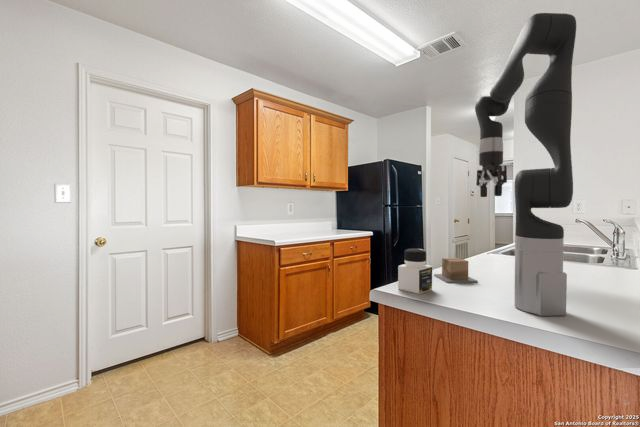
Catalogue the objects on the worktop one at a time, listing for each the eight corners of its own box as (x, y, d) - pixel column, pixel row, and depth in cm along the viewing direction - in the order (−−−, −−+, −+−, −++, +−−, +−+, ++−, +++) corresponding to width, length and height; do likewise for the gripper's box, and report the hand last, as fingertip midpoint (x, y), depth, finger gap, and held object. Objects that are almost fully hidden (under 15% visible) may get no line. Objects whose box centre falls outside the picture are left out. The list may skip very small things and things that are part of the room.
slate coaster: (477, 282, 96) (477, 280, 96) (447, 282, 95) (447, 281, 95) (461, 275, 106) (461, 273, 106) (434, 275, 105) (434, 274, 105)
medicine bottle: (419, 294, 83) (419, 251, 83) (397, 289, 88) (397, 248, 88) (432, 289, 88) (432, 249, 87) (410, 285, 93) (411, 246, 93)
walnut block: (468, 279, 98) (468, 261, 98) (450, 279, 98) (450, 261, 97) (458, 275, 104) (459, 257, 104) (441, 275, 104) (442, 258, 103)
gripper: (514, 148, 101) (514, 195, 102) (489, 155, 116) (488, 197, 116) (493, 148, 101) (492, 195, 101) (470, 155, 115) (469, 197, 116)
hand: (490, 196), depth 109 cm, fingers open, 8 cm apart
